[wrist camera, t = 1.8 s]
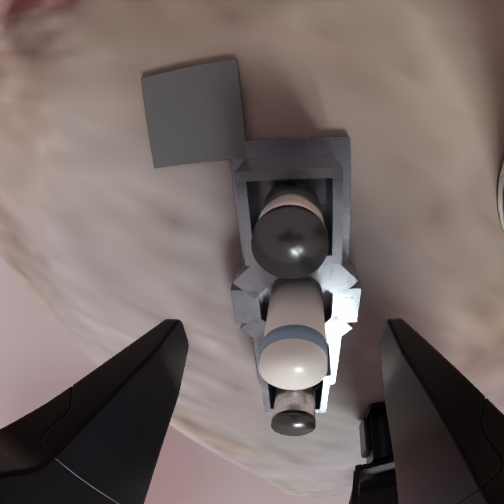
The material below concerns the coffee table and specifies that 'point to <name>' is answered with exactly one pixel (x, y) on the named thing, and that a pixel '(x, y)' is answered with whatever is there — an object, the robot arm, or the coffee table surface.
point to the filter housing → (337, 226)
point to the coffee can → (501, 196)
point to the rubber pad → (195, 114)
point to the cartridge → (294, 335)
